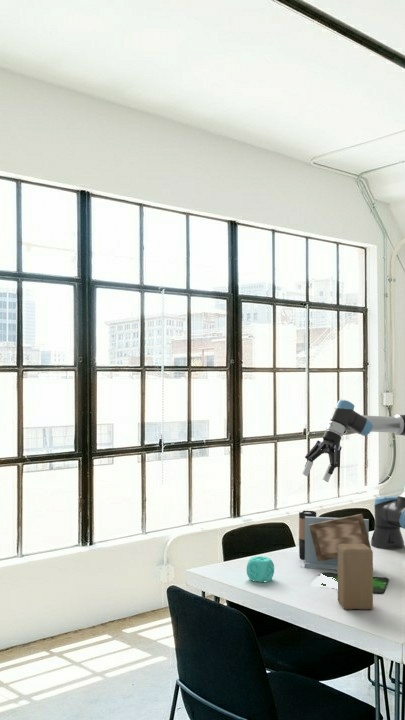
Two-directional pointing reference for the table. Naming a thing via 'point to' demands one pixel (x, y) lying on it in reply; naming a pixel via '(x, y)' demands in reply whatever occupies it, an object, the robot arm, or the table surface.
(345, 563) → the wooden block
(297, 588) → the table surface
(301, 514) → the travel mug
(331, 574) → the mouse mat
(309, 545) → the grey board
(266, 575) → the decorative dice
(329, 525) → the walnut frame
